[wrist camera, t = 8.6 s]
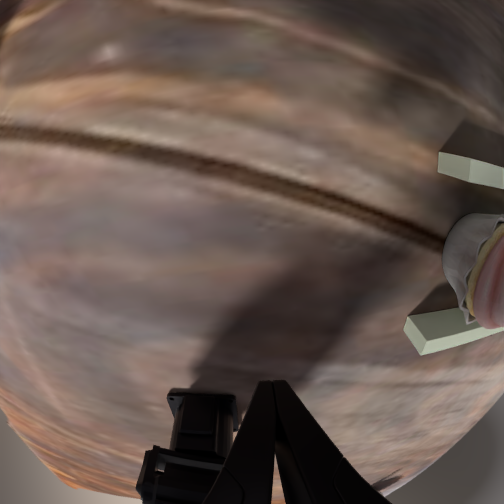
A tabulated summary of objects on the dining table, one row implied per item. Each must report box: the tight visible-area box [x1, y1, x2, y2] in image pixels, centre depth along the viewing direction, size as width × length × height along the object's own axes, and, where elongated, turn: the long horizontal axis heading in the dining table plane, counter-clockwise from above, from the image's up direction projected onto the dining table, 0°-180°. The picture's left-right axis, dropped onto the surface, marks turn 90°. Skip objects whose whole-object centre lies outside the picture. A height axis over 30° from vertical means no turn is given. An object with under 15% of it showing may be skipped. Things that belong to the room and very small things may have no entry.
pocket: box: [403, 152, 504, 355], centre depth 16 cm, size 15×14×5 cm
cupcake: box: [442, 213, 504, 329], centre depth 14 cm, size 9×9×10 cm
